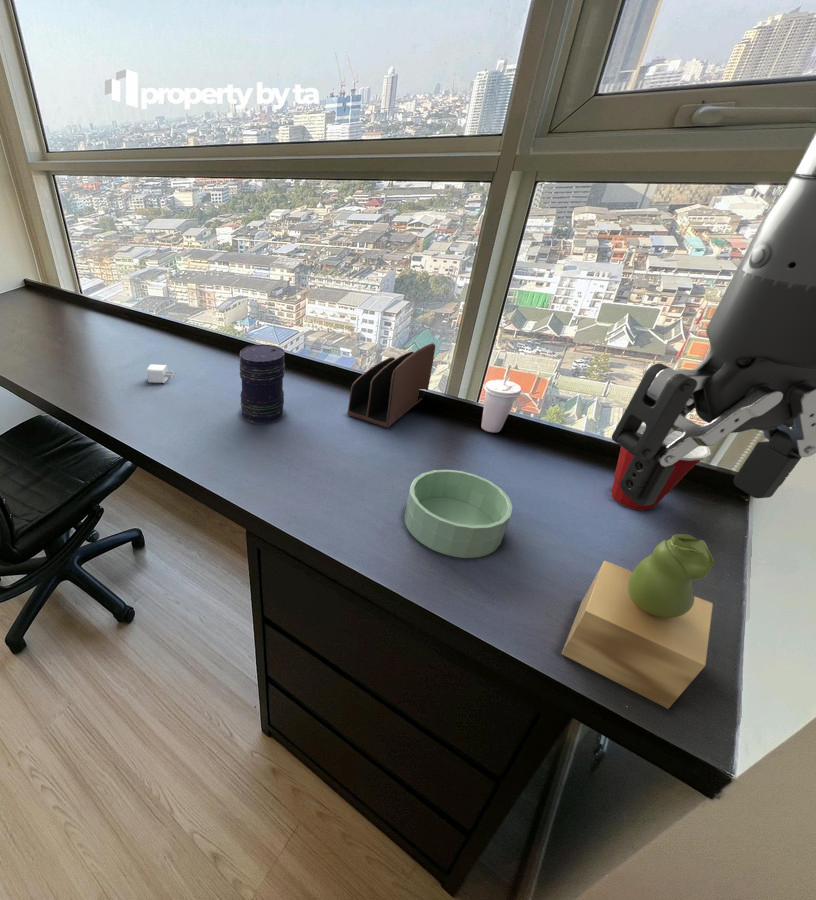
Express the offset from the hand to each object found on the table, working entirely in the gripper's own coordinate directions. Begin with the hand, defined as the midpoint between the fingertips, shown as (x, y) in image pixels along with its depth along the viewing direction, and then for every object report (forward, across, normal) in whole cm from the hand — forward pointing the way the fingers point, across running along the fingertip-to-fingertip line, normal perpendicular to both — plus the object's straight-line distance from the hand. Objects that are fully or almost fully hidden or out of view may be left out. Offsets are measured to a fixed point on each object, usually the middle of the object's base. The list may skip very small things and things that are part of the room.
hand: (692, 495), depth 36 cm
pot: (+30, +2, +30) cm, 42 cm away
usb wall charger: (+30, -48, +93) cm, 109 cm away
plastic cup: (+30, +34, +33) cm, 56 cm away
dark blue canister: (+30, -24, +71) cm, 81 cm away
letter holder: (+30, +6, +71) cm, 77 cm away
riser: (+30, +12, +7) cm, 33 cm away
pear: (+22, +12, +7) cm, 26 cm away
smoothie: (+30, +23, +58) cm, 70 cm away
